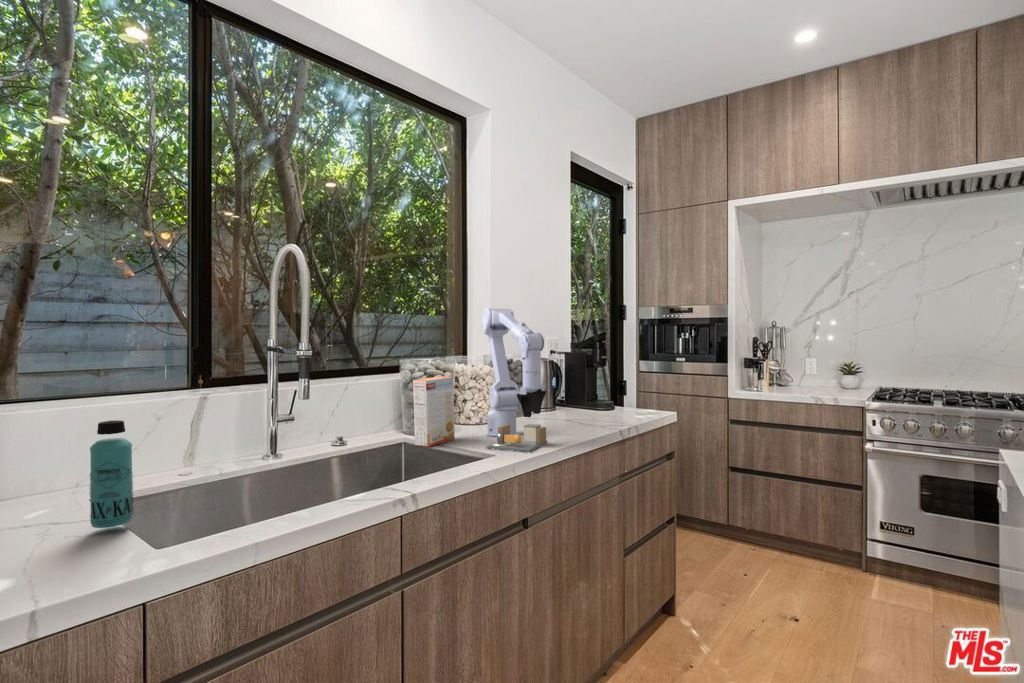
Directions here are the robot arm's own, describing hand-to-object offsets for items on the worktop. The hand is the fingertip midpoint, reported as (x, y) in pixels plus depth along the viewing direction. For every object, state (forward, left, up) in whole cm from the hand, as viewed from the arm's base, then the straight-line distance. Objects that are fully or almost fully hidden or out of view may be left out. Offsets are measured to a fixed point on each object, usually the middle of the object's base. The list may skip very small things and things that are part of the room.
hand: (532, 415), depth 174 cm
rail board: (-4, -3, -9) cm, 10 cm away
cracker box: (-31, -8, -10) cm, 33 cm away
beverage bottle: (-42, -99, -9) cm, 108 cm away
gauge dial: (-8, -7, -9) cm, 14 cm away
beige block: (0, 0, -8) cm, 8 cm away
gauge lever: (-3, -8, -7) cm, 11 cm away
